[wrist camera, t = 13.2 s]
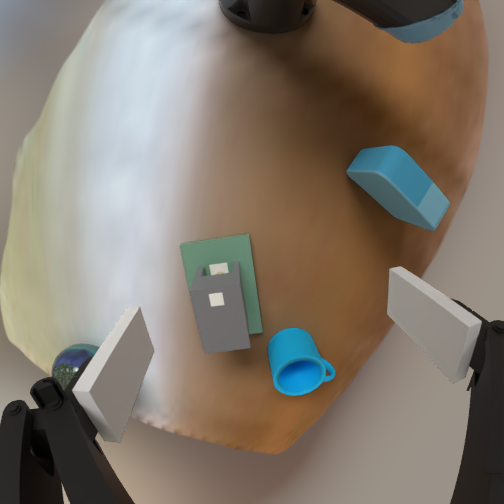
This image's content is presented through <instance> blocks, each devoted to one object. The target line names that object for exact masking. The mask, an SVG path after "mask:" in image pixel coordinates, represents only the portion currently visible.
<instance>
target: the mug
mask: <svg viewBox="0 0 504 504" xmlns="http://www.w3.org/2000/svg"><path fill="white" fill-rule="evenodd" d="M268 356H269V362H270V367H271V372H272V378H273V383H274V385H275V387H276V389H277V390H279V391H280V392H281V393H284V394H286V395H292V396H297V395H304V394H306V393H309V392H311V391H313V390H314V389H316V388H317V387H318V386H319V385H320V384H321V383H322V382H328V381H330V380H332V379H333V378H334V376H335V374H336V373H335V369H334V368H333V366H332V365H331V364H330V363H329V362H328V361H326V360H325V359H323V358H322V357H321V356H320V354H319V351H318V349H317V347H316V345H315V343H314V340H313V338H312V336H311V335H310V334H309V333H308V332H307V331H305V330H303V329H299V328H288V329H285V330H282V331H280V332H279V333H277V334H276V335H274V336H273V338H272V339H271V340H270V342H269V345H268ZM326 369H327V371H328V372H329V376H325V375H326Z"/></svg>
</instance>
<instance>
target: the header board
mask: <svg viewBox="0 0 504 504" xmlns="http://www.w3.org/2000/svg"><path fill="white" fill-rule="evenodd" d="M180 248H181V253H182V258H183V263H184V268H185V273H186V277H187V282H188V286H189V291H190V288H191V285H192V282H193V279H194V277H195V274H196V271H197V268H198V267H201V266H204V268H205V274H206V276H210V275H217V274H224V273H231V272H232V265H233V262H235V261H239V266H240V272H241V279H242V285H243V291H244V297H245V304H246V310H247V316H248V326H249V334H256V333H262V332H263V331H262V324H261V317H260V310H259V303H258V296H257V288H256V281H255V274H254V267H253V260H252V253H251V246H250V239H249V233H248V234H242V235H235V236H228V237H221V238H215V239H208V240H202V241H195V242H189V243H182V244H181V245H180Z"/></svg>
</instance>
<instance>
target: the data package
mask: <svg viewBox="0 0 504 504" xmlns="http://www.w3.org/2000/svg"><path fill="white" fill-rule="evenodd" d="M346 173H347V175H348V176H349V177H350V178H351V179H352V180H353V181H354V182H356V183H357V184H358V185H359V186H360V187H361V188H363V189H364V190H365V191H366V192H367V193H368V194H369V195H370V196H372V197H373V198H374V199H375V200H376V201H377V202H378V203H379V204H380V205H381V206H382V207H383V208H385V209H386V210H387V211H388V212H389V213H390V214H391V215H392V216H394V217H395V218H397V219H399V220H402V221H405V222H408V223H411V224H414V225H416V226H419V227H422V228H425V229H427V230H430V231H435V229H436V228H437V226H438V225H439V223H440V221H441V220H442V218H443V216H444V214H445V213H446V211H447V209H448V208H449V206H450V203H449V201H448V199H447V198H446V197H445V196H444V194H443V193H442V192H441V191H440V190H439V188H438V187H437V186H436V185H435V184H434V182H433V181H432V180H431V179H430V178H429V177H428V175H427V174H426V173H425V172H424V171H423V170H422V169H421V168H420V167H419V165H418V164H417V163H416V162H415V161H414V160H413V159H412V158H411V157H410V156H409V155H408V154H407V153H406V152H405V151H404V150H403V149H401V148H399V147H397V146H394V145H390V146H382V147H374V148H366V149H361V150H360V152H359V153H358V155H357V156H356V157H355V159H354V160H353V162H352V163H351V165H350V166H349V168H348V169H347V170H346Z"/></svg>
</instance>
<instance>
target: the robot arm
mask: <svg viewBox="0 0 504 504" xmlns="http://www.w3.org/2000/svg"><path fill="white" fill-rule="evenodd" d="M333 1H335V2H337V3H339V4H340V5H342V6H344V7H346V8H348V9H349V10H351V11H353V12H355V13H356V14H358V15H360V16H361V17H363V18H365V19H366V20H368V21H370V22H371V23H373V24H374V26H375V27H377V28H378V29H381V30H384V31H386V32H387V33H389V34H390V35H392V36H394V37H395V38H397V39H398V40H400V41H402V42H406V43H421V42H424V41H427V40H430V39H432V38H434V37H436V36H438V35H439V34H441V33H443V32H444V31H445V30H447V29H448V28H449V27H450V26H451V25H453V23H454V19H456V18H458V17H459V16H460V15H461V13H462V11H463V8H464V1H463V0H333ZM219 5H220V8H221V10H222V12H223V13H224V14H225V16H226V17H227V18H228V19H230V20H231V21H232V22H233V23H235V24H237V25H238V26H240V27H243V28H245V29H248V30H251V31H255V32H261V33H282V32H287V31H290V30H293V29H296V28H298V27H300V26H301V25H303V24H304V23H305V22H306V21H307V20H308V19H309V18H310V16H311V14H312V12H313V10H314V8H315V5H316V0H219ZM387 315H388V316H389V317H390V318H391V319H392V320H393V321H394V322H395V323H396V324H397V325H398V326H399V327H400V328H401V329H402V330H403V331H404V332H405V333H406V334H407V335H408V336H409V337H410V338H411V339H412V340H413V341H414V342H415V343H416V345H417V346H419V348H420V349H421V350H422V351H423V352H424V353H425V354H426V355H427V356H428V357H429V358H430V359H431V360H432V362H433V363H434V364H435V365H436V366H437V367H438V368H439V369H440V370H441V371H442V373H443V374H444V375H445V376H446V377H447V378H448V379H449V380H450V381H451V383H455V382H457V381H459V380H461V379H463V378H465V377H466V374H467V371H468V369H469V366H470V367H471V368H472V369H473V370H474V372H473V375H472V378H471V380H470V383H469V386H468V388H467V391H469V389H470V387H471V398H470V408H469V418H468V425H467V432H466V439H465V445H464V450H463V455H462V460H461V465H460V469H459V474H458V478H457V482H456V485H455V489H454V492H453V496H452V499H451V503H450V504H504V321H500V320H496V321H492V322H490V323H489V322H488V321H487V320H485V319H484V318H483V317H481V316H480V315H478V314H477V313H476V312H474V311H472V310H471V309H470V308H468V307H467V306H465V305H464V304H463V303H461V302H460V301H457V300H454V299H451V298H448V297H447V296H445V295H444V294H442V293H441V292H439V291H438V290H436V289H435V288H433V287H432V286H430V285H429V284H427V283H426V282H424V281H423V280H421V279H420V278H418V277H417V276H415V275H414V274H412V273H411V272H409V271H408V270H406V269H404V268H403V267H401V266H400V267H395V268H390V269H389V291H388V308H387ZM153 353H154V348H153V345H152V343H151V340H150V337H149V334H148V331H147V328H146V324H145V321H144V318H143V315H142V312H141V308H140V307H133V308H127V309H126V310H125V312H124V313H123V314H122V316H121V317H120V319H119V320H118V321H117V323H116V324H115V326H114V327H113V329H112V330H111V332H110V333H109V334H108V336H107V337H106V339H105V340H104V342H103V343H102V345H101V346H100V348H99V349H98V351H97V352H96V354H95V355H94V357H89V358H88V359H87V360H85V361H84V362H83V363H82V364H81V366H80V367H79V369H78V371H77V372H76V373H75V375H74V377H73V378H72V379H71V381H70V382H69V384H68V385H67V387H66V388H65V390H63V388H62V387H61V385H60V383H59V381H58V380H57V379H56V378H53V377H47V378H44V379H41V380H39V381H37V382H36V383H35V384H34V385H33V386H32V388H31V390H30V394H31V396H32V397H33V399H34V401H35V402H36V404H37V405H38V407H39V408H37V409H29V407H28V406H27V404H26V403H25V402H24V401H22V400H16V401H12V402H11V403H9V404H8V405H7V406H6V408H5V409H4V411H3V415H2V420H1V423H0V504H64V501H63V493H62V484H63V487H64V490H65V492H66V495H67V497H68V500H69V502H70V504H135V503H134V502H133V500H132V499H131V497H130V496H129V494H128V493H127V491H126V490H125V488H124V487H123V485H122V484H121V482H120V481H119V479H118V477H117V476H116V474H115V472H114V470H113V469H112V467H111V465H110V464H109V462H108V460H107V459H106V456H105V455H104V453H103V451H102V449H101V447H100V445H99V443H98V442H97V441H96V440H95V437H96V435H97V432H98V433H99V434H100V435H101V437H102V438H103V440H104V441H110V442H119V443H121V441H122V438H123V434H124V432H125V428H126V426H127V423H128V420H129V417H130V415H131V412H132V409H133V406H134V403H135V401H136V398H137V395H138V392H139V390H140V387H141V384H142V382H143V379H144V377H145V374H146V371H147V369H148V366H149V364H150V361H151V358H152V356H153ZM61 482H62V483H61Z"/></svg>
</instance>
